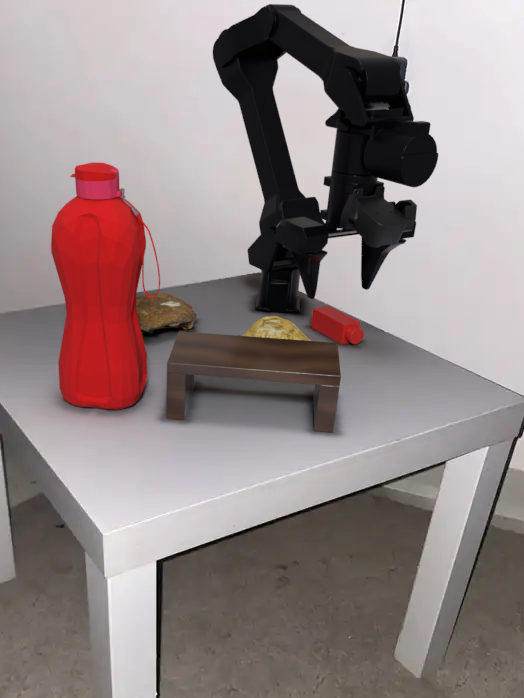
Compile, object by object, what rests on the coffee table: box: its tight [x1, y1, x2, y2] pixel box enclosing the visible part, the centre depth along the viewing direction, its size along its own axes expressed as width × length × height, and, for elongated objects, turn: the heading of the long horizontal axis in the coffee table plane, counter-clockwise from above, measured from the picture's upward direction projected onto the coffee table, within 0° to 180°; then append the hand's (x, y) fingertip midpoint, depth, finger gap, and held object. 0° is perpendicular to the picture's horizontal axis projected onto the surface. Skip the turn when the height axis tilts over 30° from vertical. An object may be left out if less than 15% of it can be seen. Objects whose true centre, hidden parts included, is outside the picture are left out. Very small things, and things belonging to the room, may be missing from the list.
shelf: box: [165, 331, 342, 433], centre depth 85 cm, size 9×18×7 cm, turn 83°
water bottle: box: [50, 162, 161, 411], centre depth 82 cm, size 9×11×25 cm
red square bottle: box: [310, 305, 364, 345], centre depth 105 cm, size 8×3×3 cm, turn 29°
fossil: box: [240, 315, 312, 341], centre depth 99 cm, size 11×6×10 cm
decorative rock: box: [136, 292, 198, 335], centre depth 105 cm, size 11×4×15 cm
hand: (338, 293), depth 103 cm, fingers open, 9 cm apart
